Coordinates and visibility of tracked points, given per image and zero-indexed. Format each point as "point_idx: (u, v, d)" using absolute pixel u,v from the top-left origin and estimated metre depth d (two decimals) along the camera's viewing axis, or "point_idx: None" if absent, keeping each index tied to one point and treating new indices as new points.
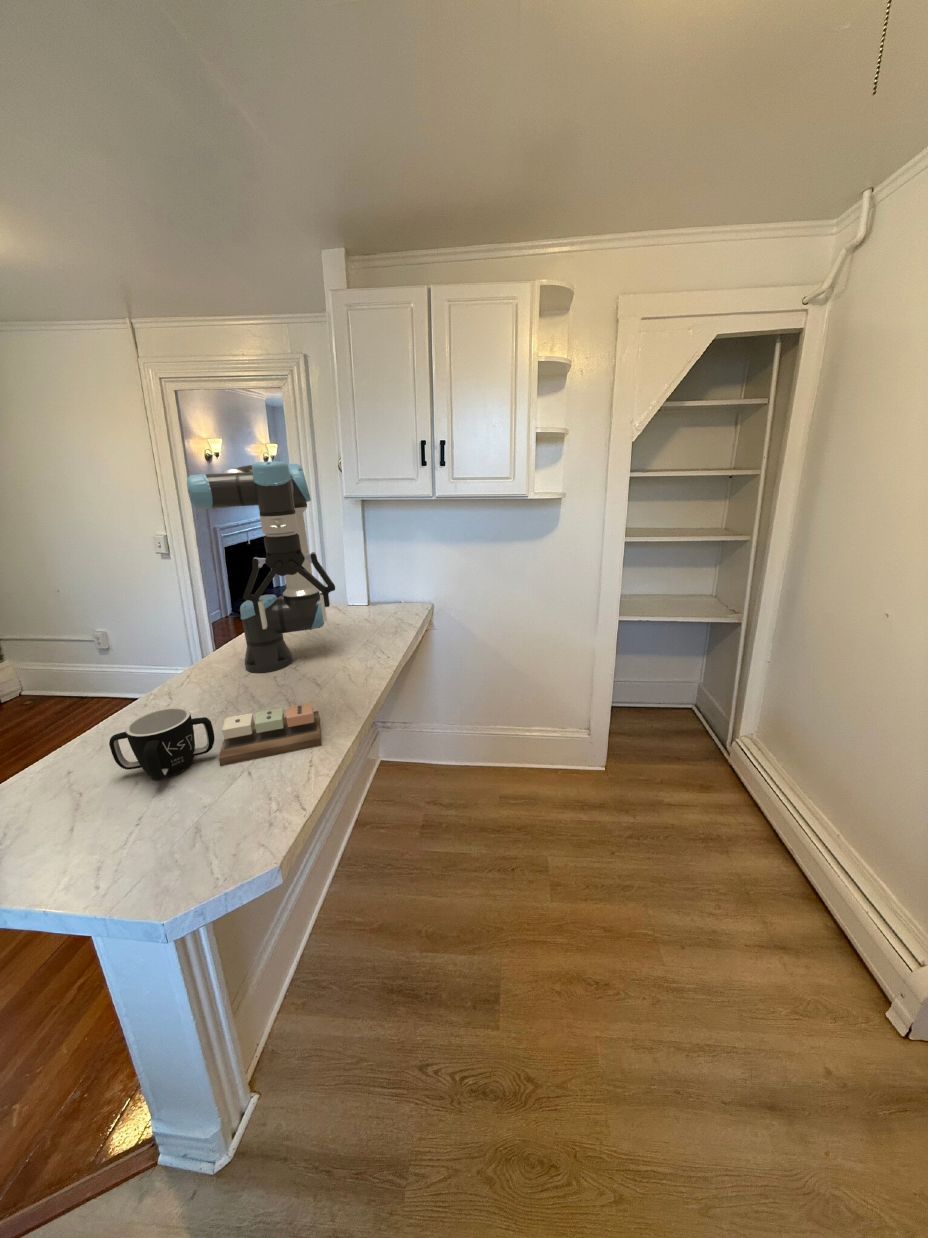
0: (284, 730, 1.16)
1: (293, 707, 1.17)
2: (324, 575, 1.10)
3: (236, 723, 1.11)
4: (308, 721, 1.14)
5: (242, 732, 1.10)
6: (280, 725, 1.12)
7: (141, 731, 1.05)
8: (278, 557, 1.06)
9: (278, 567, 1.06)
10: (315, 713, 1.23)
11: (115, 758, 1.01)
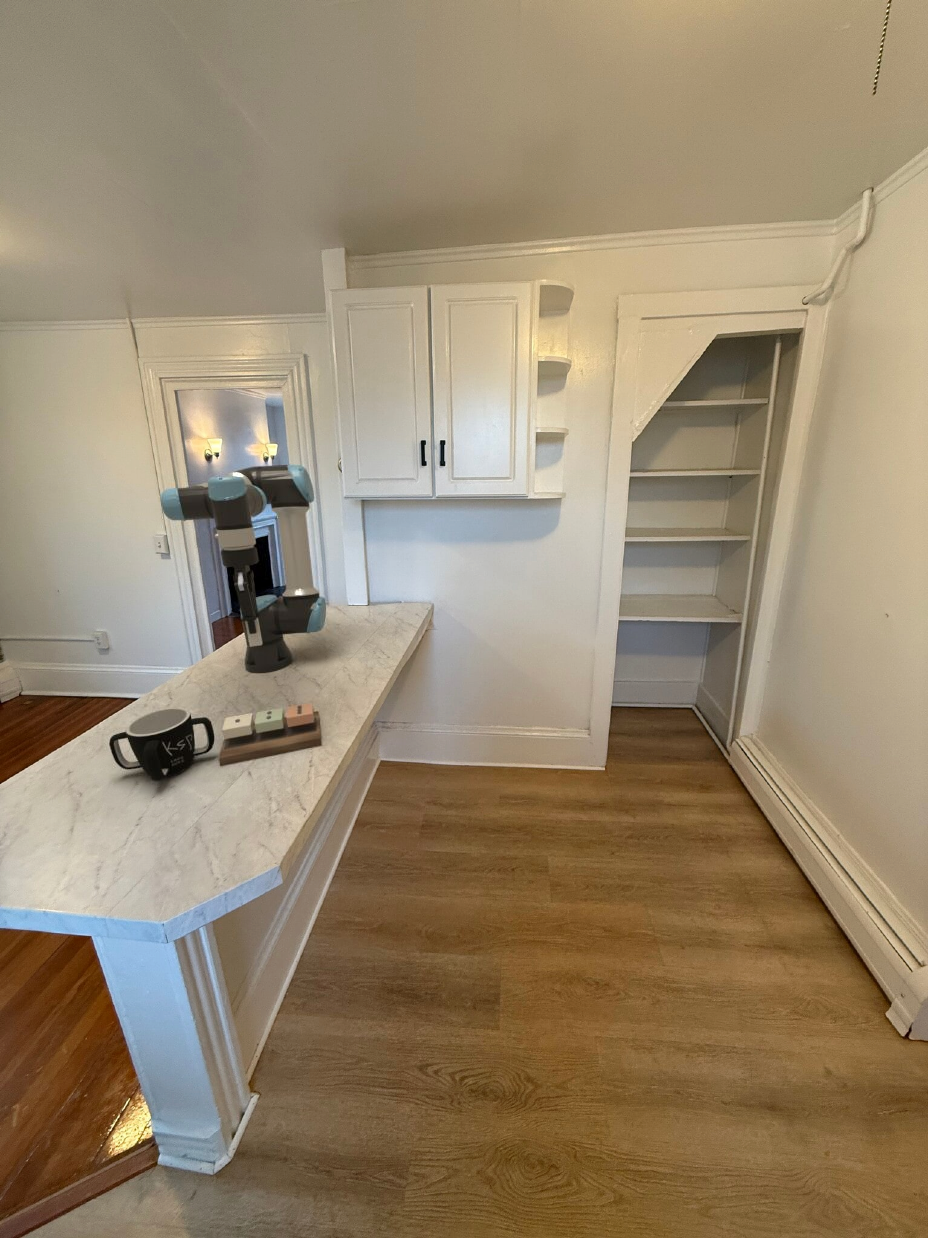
0: (284, 730, 1.16)
1: (293, 707, 1.17)
2: None
3: (236, 723, 1.11)
4: (308, 721, 1.14)
5: (242, 732, 1.10)
6: (280, 725, 1.12)
7: (141, 731, 1.05)
8: None
9: None
10: (315, 713, 1.23)
11: (115, 758, 1.01)
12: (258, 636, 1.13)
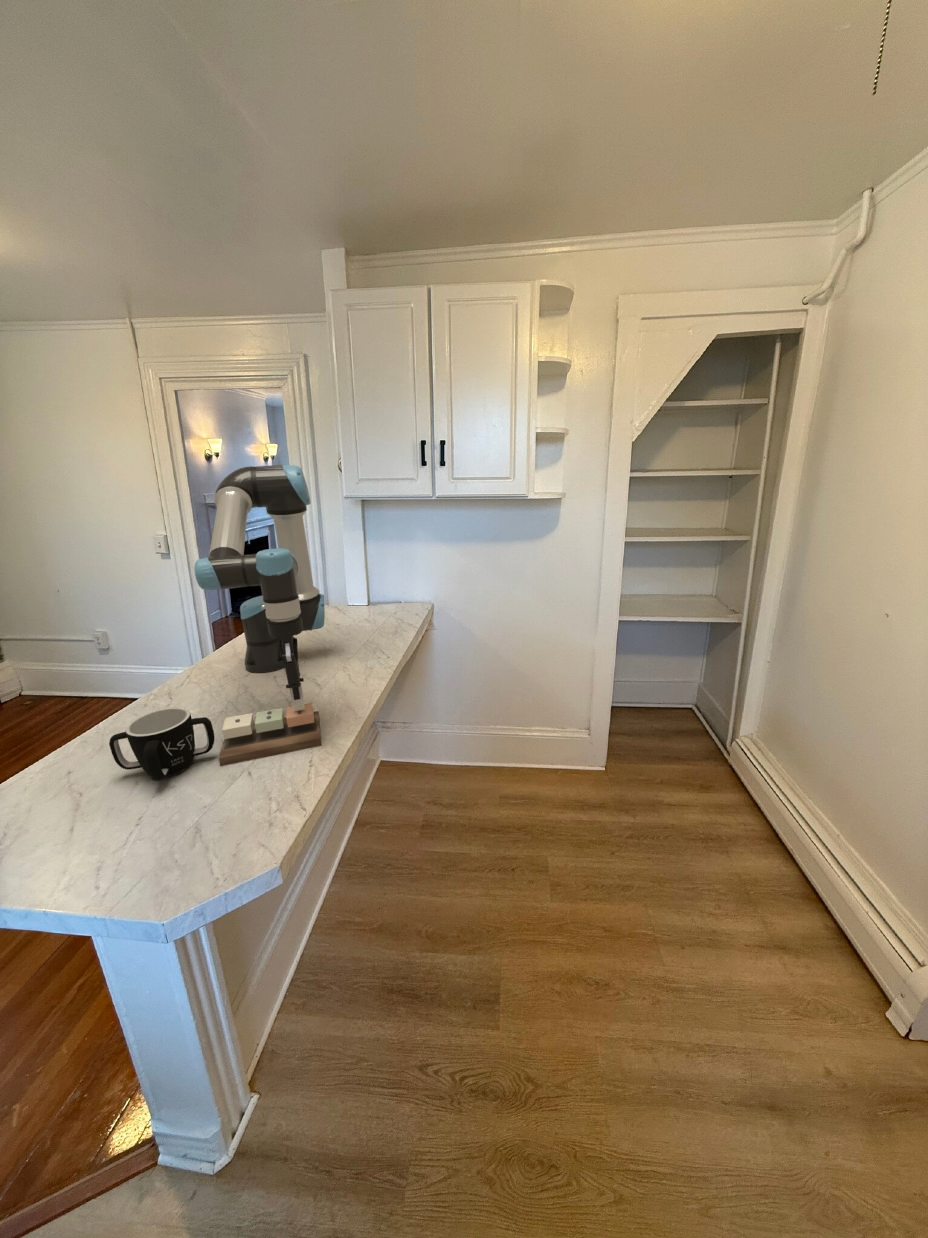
0: (284, 730, 1.16)
1: None
2: (286, 674, 1.08)
3: (236, 723, 1.11)
4: (308, 721, 1.14)
5: (242, 732, 1.10)
6: (280, 725, 1.12)
7: (141, 731, 1.05)
8: None
9: None
10: (315, 713, 1.23)
11: (115, 758, 1.01)
12: (302, 701, 1.14)
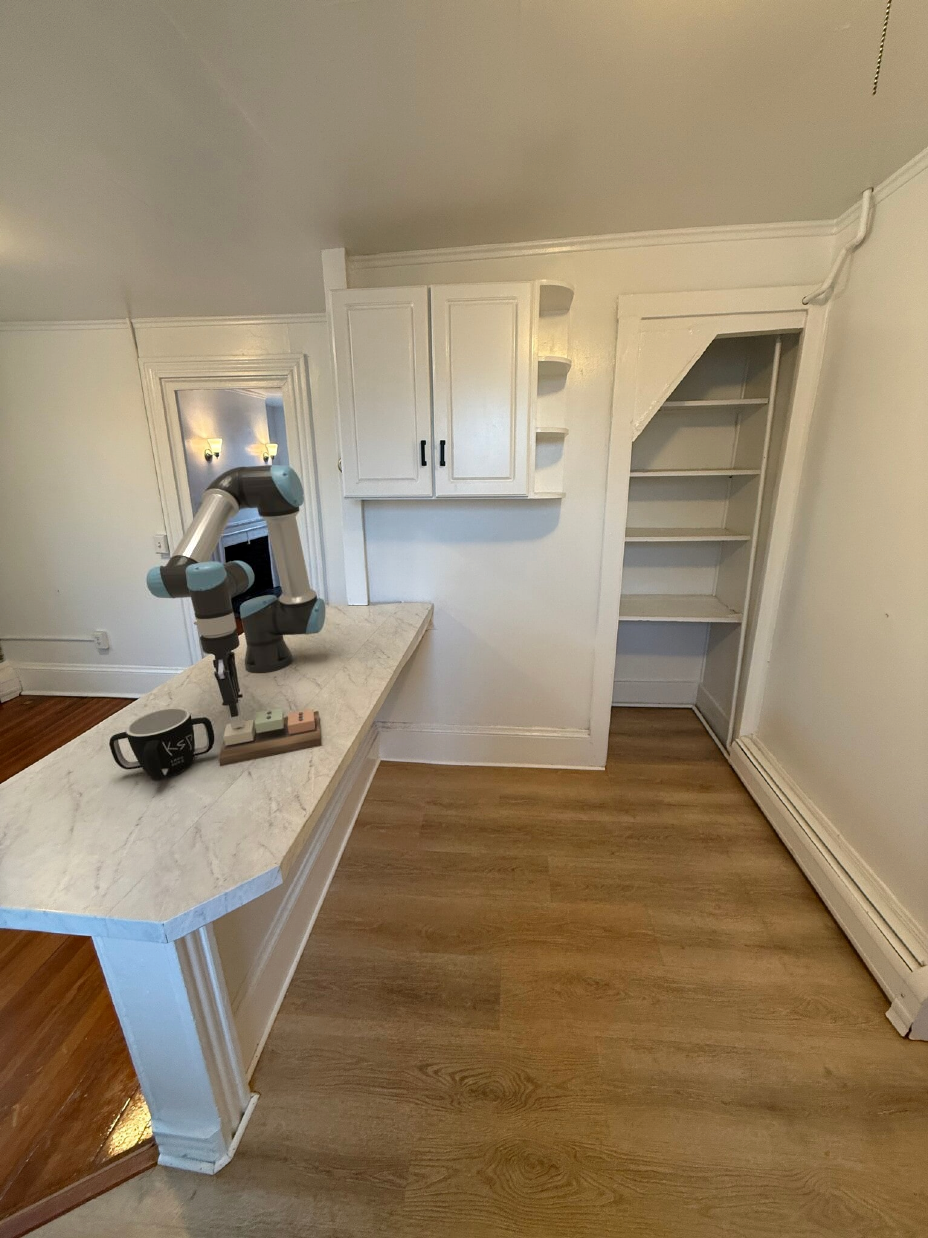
0: (284, 730, 1.16)
1: (294, 714, 1.18)
2: None
3: (237, 729, 1.11)
4: (309, 728, 1.15)
5: (243, 738, 1.10)
6: (280, 725, 1.12)
7: (141, 731, 1.05)
8: None
9: None
10: (315, 713, 1.23)
11: (115, 758, 1.01)
12: (240, 718, 1.11)
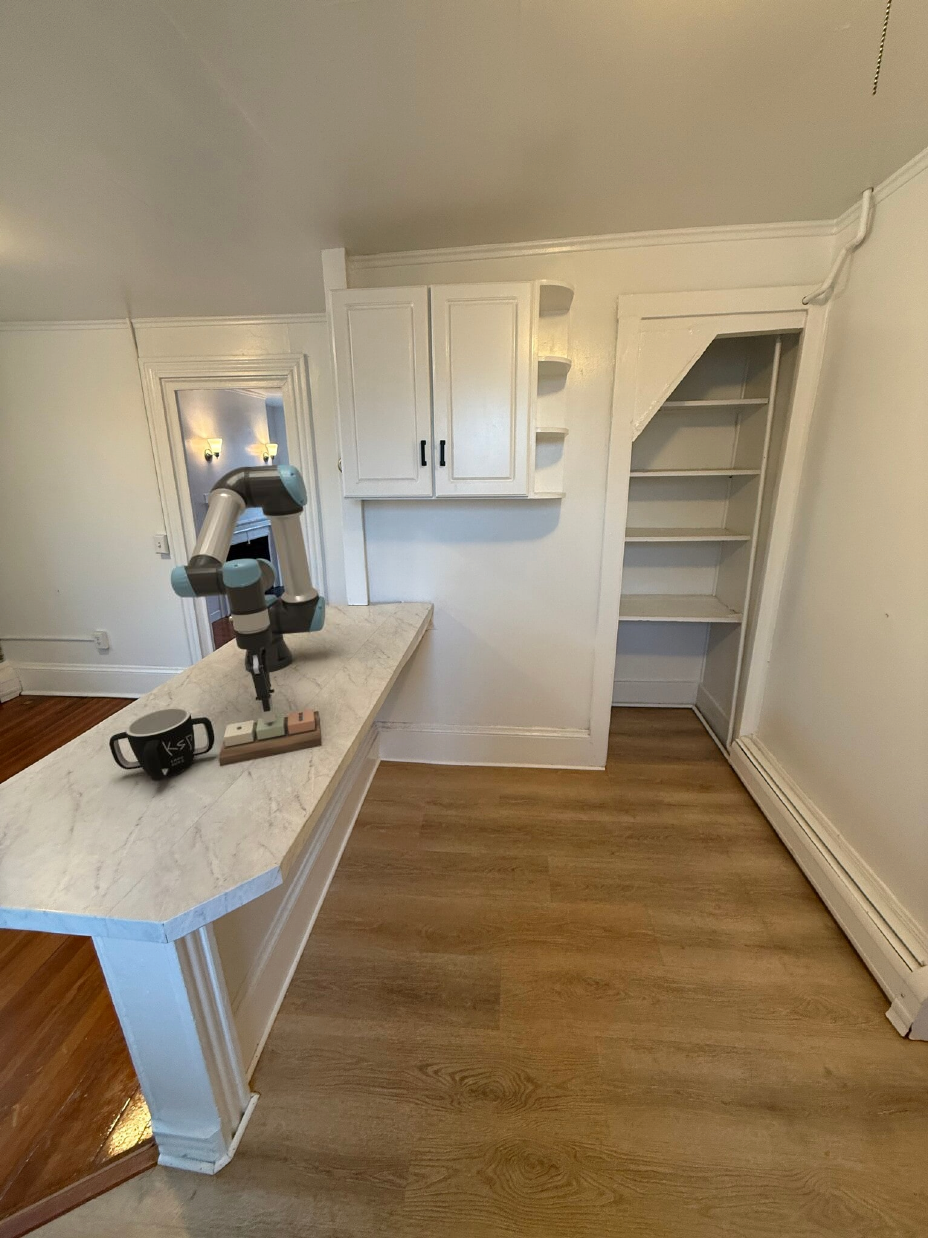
0: None
1: (294, 714, 1.18)
2: None
3: (238, 730, 1.11)
4: (309, 728, 1.15)
5: (244, 739, 1.10)
6: (281, 732, 1.13)
7: (141, 731, 1.05)
8: None
9: None
10: (315, 713, 1.23)
11: (115, 758, 1.01)
12: (272, 713, 1.13)
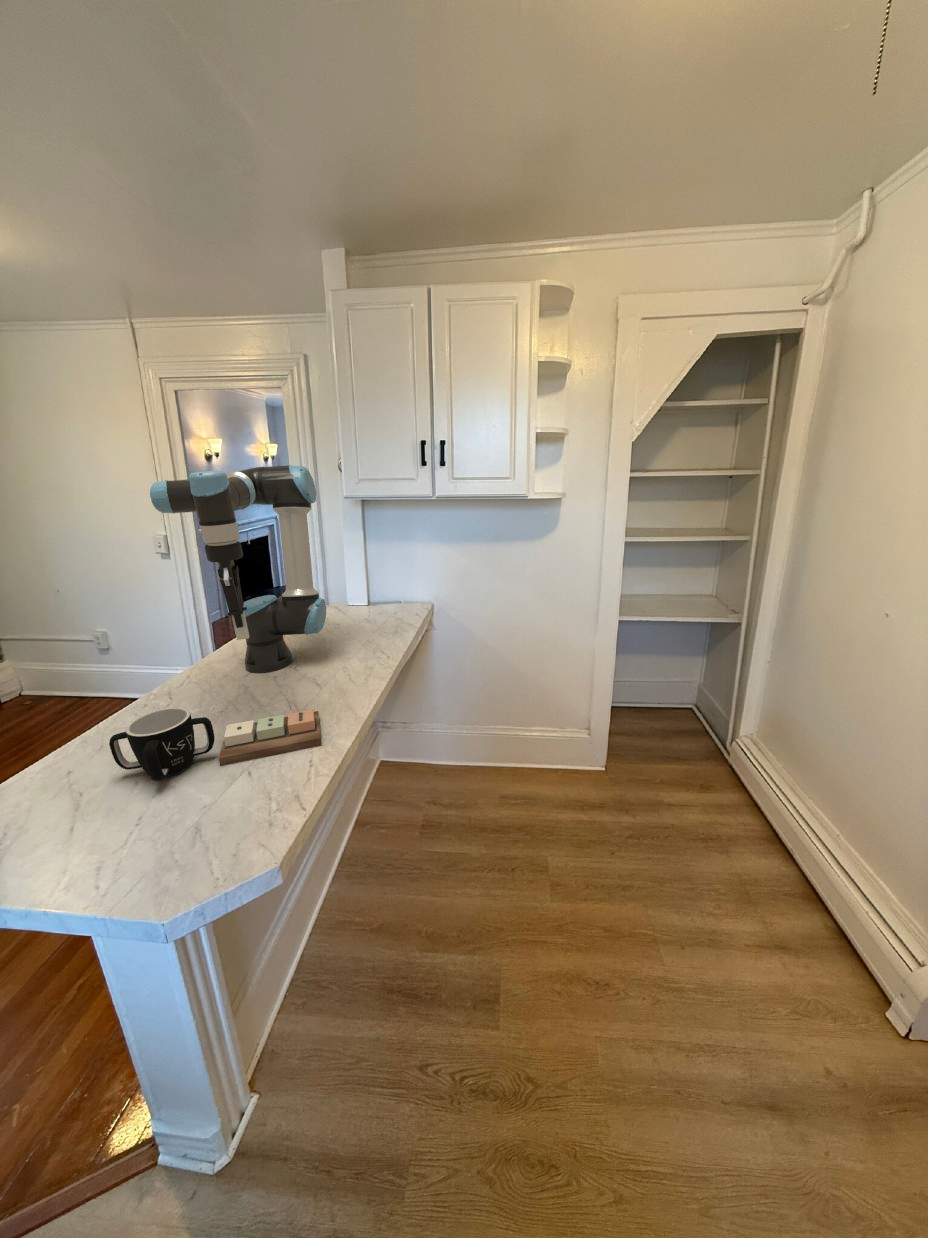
0: None
1: (294, 714, 1.18)
2: (226, 599, 1.08)
3: (238, 730, 1.11)
4: (309, 728, 1.15)
5: (244, 739, 1.10)
6: (281, 732, 1.13)
7: (141, 731, 1.05)
8: None
9: None
10: (315, 713, 1.23)
11: (115, 758, 1.01)
12: (245, 629, 1.14)
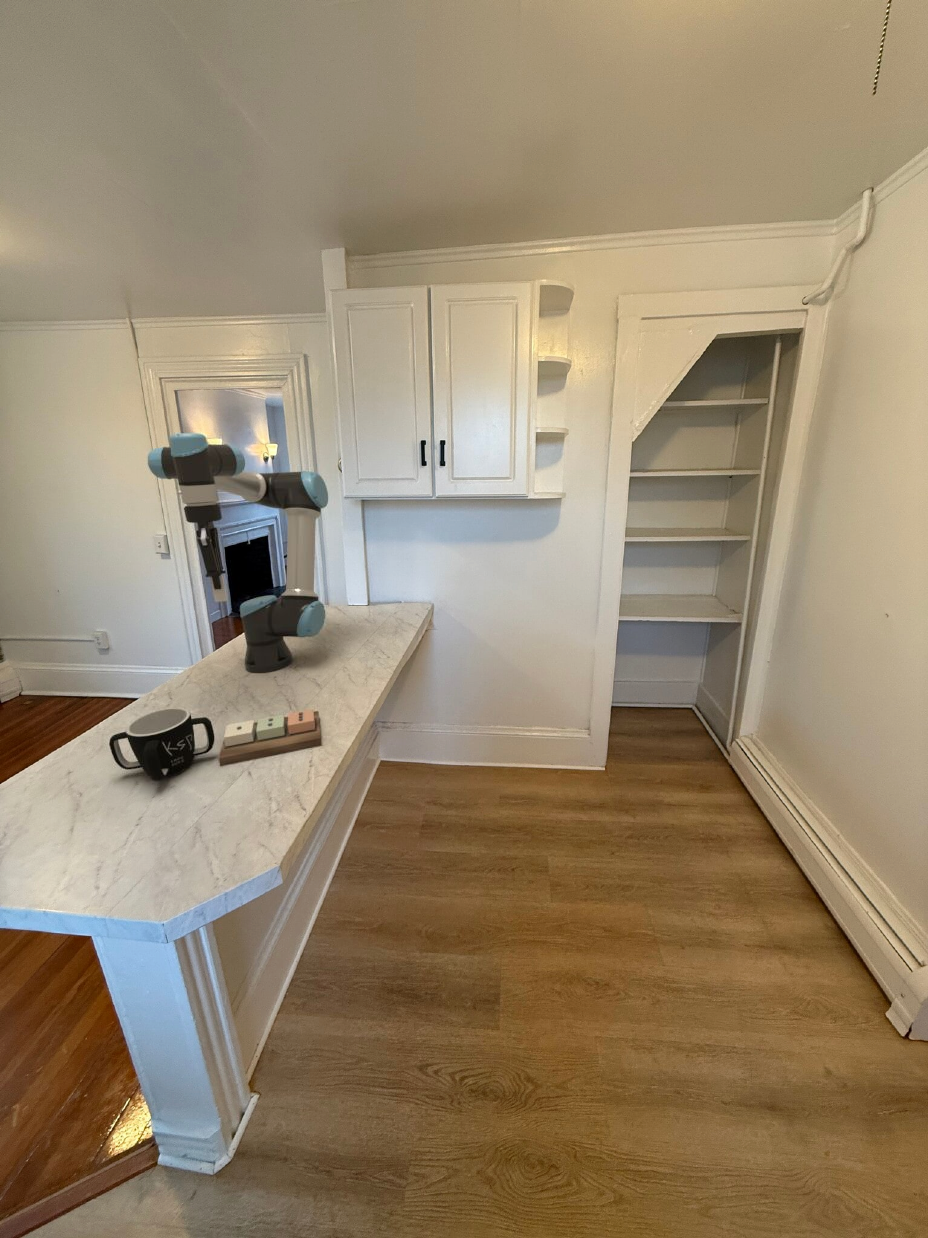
0: None
1: (294, 714, 1.18)
2: None
3: (238, 730, 1.11)
4: (309, 728, 1.15)
5: (244, 739, 1.10)
6: (281, 732, 1.13)
7: (141, 731, 1.05)
8: None
9: None
10: (315, 713, 1.23)
11: (115, 758, 1.01)
12: (223, 592, 1.17)
